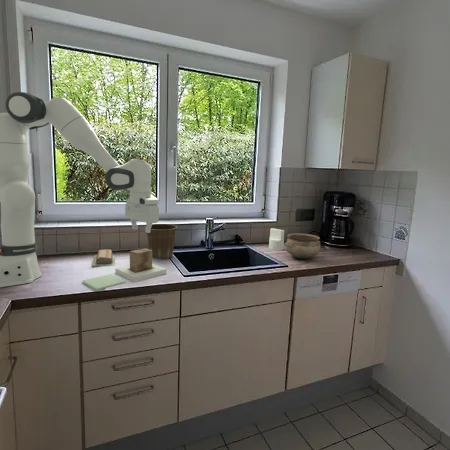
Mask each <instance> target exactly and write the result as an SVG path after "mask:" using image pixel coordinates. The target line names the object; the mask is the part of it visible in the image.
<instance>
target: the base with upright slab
mask: <svg viewBox="0 0 450 450" xmlns="http://www.w3.org/2000/svg"><path fill="white" fill-rule="evenodd" d="M269 230H270V231H269V239H268V240H269V242H268V249H269V250H271V251H282V250H284V246H285V245H284V244H285V229H279V228H274V227H271V228H270V229H269Z"/></svg>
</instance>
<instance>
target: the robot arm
mask: <svg viewBox="0 0 450 450" xmlns="http://www.w3.org/2000/svg"><path fill="white" fill-rule="evenodd" d="M5 110H6V111H7V112H0V232H1V244H0V288H4V287H12V286H18V285H25V284H30V283H32V282H34V281H35V280H37V279H38V278H40V277H41V276H42V274H43V273H42V272H41V269H40V266H39V262H38V256H37V255H38V245H37V242H36V236H35V235H36V234H35V215H36V214H35V213H36V194H35V193H36V192H35V190H34V189H33V187H32V186H31V185H29V170H30V169H29V168H30V160H29V150H28V149H29V148H28V140H27V133H28V130H36V129H38V128H39V129H40V128H43V127H46V126H48V125H49V124H51V125H52V126H53V127H54V128H55V129H56V130H57V132H58V133H59V134H60V135H61V136H62V137H63V138H64V139H65V140H66V141H67V142H68V143H70V145H72V146H73V147H74V148H76V149H78V150H80V151H82V152H83V153H85V154H88V155H89V156H90V157H91V158H93V159H94V161H96V163H97V164H98V165H99V166H100V167H101V168H102V170H104V171H105V177H104V181H105V182H104V183H105V184H106V186H107V187H108V188H109V189H111V190H113V191H116V192H118V191H124V190H129V197H128V198H127V200H126V203H125V209H124V215H125V218H126V219H130V223H131V227H132V230H135V231H136V230H139V225H138V224H137V221H140V222H144V223H145V224H146V226H147V227H146V228H145V227H144V232H145V233H146V234H147V233H150V232H151V227H152V225H153V224H158V222H159V219H160V209H159V206H158V205H159V203H160V199H158V198H157V197H156V196H154V195H153V194H152V192H153V191H152V188H151V184H152V169H151V165H150V163H149V162H148V161H145V160H142V159H137V158H132V159H130V160H129V161H127V162H125V163H124V164H119V162H117V161H116V159H115V158H114V157H113V156H112V155H111V154H110V153H109V152H108V150H107V149H106V148H105V147H104V145H103V144H102V142H101V141H100V139H99V137H98V136H97V134H96V132H95V131H94V129H93V127H92V125H91V124H90V123H89V121H88V119H86V118H85V116H84V115H83V114H82V113H81V112H80V111H79V110H78V108H76V107H75V106H74V105H73V103H71V102H69V100H68V99H66V98H64V97H61V96H56V97H53V98H51V99H49V100H48V101H44V100H43V98H39V97H38V96H36V95H33V94H31V93H28V92H24V91H18V92H13V93H10V95H8V96H7V98H6V100H5Z"/></svg>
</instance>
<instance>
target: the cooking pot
mask: <svg viewBox="0 0 450 450" xmlns="http://www.w3.org/2000/svg"><path fill="white" fill-rule="evenodd" d="M320 240H321V238H320V236H318V235H313V234H308V233H299V232H297V233H289V234H287V239H286V241H285V242H284V246H285V250H286V252H287V253H288V254H289V255H291V256H292V257H294V258H295V259H297V260H304V261H305V260H309V259H311V258H314V257H315V256H317V255H318V254H319V253H320V251H321V241H320Z"/></svg>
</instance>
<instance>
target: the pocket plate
mask: <svg viewBox="0 0 450 450" xmlns="http://www.w3.org/2000/svg"><path fill="white" fill-rule="evenodd" d="M114 269H115V274H117V275H119V276H121V277H124V278H126V279H128V280H129V281H131V282H139V281H143V280H147V279H151V278H154V277H155V278H156V277H158V276H161V275H165V274H166V275H167V268H166V267H162V266H159V265H157V264H154V263H152V269H150V270H146V271H142V272H138V273H134V272H132V271H130V264H128V265H125V266H120V267H115V268H114Z"/></svg>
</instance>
